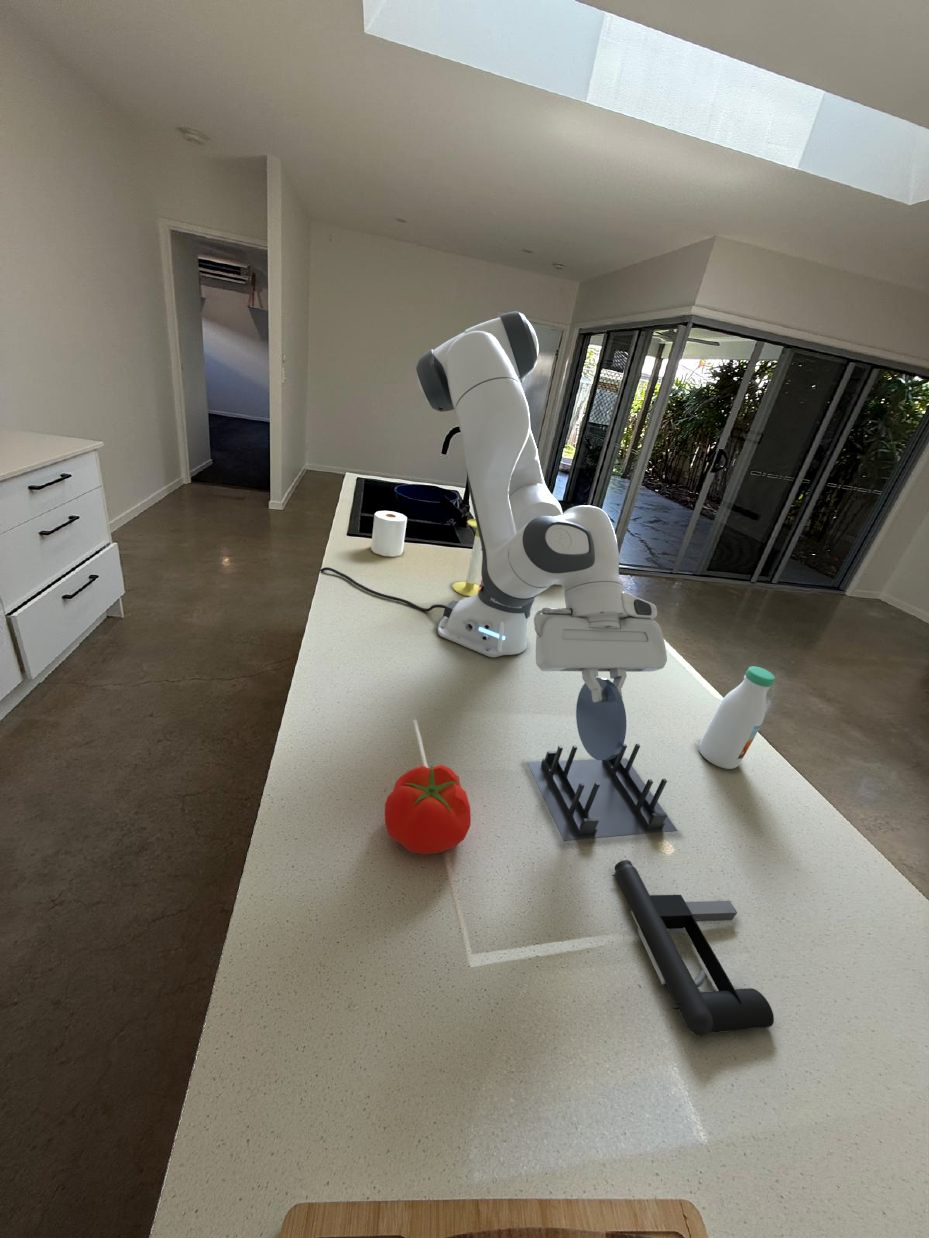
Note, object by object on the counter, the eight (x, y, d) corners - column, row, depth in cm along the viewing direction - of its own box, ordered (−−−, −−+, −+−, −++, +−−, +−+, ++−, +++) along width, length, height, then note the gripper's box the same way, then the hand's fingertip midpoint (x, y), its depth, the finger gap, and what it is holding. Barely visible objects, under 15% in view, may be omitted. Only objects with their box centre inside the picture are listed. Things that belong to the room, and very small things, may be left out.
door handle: (707, 858, 74) (610, 858, 70) (812, 1017, 57) (691, 1029, 52) (697, 873, 75) (601, 874, 71) (796, 1032, 58) (678, 1045, 54)
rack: (525, 765, 88) (536, 730, 85) (625, 761, 94) (639, 728, 90) (562, 844, 75) (577, 806, 71) (675, 833, 80) (694, 798, 77)
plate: (568, 721, 82) (590, 661, 77) (574, 721, 83) (596, 661, 77) (602, 778, 72) (630, 713, 67) (608, 778, 73) (637, 713, 67)
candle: (468, 580, 157) (493, 457, 141) (492, 593, 152) (520, 467, 135) (445, 585, 151) (468, 457, 134) (468, 599, 145) (495, 467, 128)
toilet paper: (366, 552, 163) (370, 516, 157) (377, 543, 172) (380, 508, 167) (397, 559, 162) (401, 523, 157) (405, 549, 171) (410, 515, 166)
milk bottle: (721, 774, 96) (769, 687, 87) (689, 746, 102) (730, 663, 93) (746, 765, 99) (794, 681, 90) (714, 739, 105) (756, 658, 96)
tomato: (435, 887, 65) (446, 842, 61) (362, 833, 70) (368, 789, 66) (484, 825, 75) (496, 783, 71) (417, 782, 80) (425, 741, 76)
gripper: (542, 600, 71) (552, 699, 67) (665, 606, 77) (680, 697, 73) (524, 613, 77) (532, 705, 73) (640, 618, 83) (653, 703, 79)
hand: (607, 701), depth 73 cm, fingers closed on plate, 1 cm apart
